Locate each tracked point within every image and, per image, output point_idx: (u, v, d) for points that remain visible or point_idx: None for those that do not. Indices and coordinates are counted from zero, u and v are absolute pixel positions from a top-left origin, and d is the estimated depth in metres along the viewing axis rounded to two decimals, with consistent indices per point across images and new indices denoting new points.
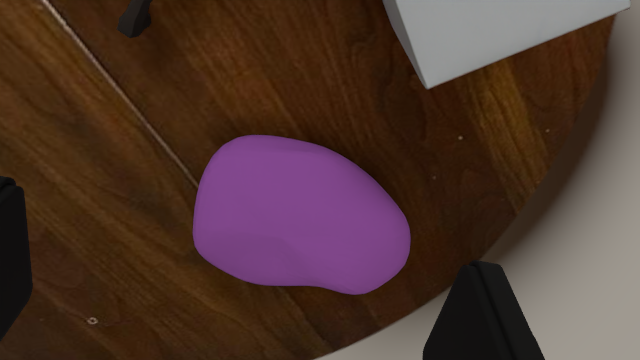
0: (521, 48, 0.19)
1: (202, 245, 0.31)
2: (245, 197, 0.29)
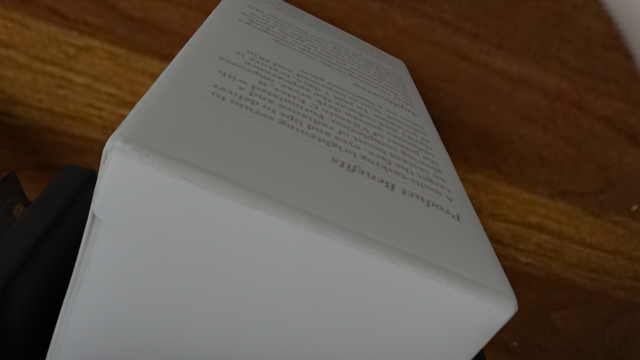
0: None
1: None
2: None
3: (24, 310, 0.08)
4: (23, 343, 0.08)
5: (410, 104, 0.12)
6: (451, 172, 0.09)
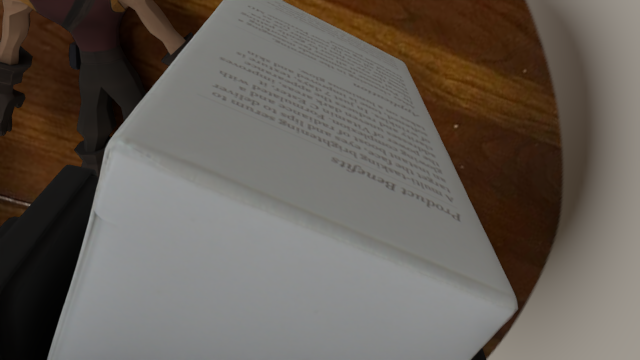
0: None
1: None
2: None
3: (24, 310, 0.08)
4: (23, 343, 0.08)
5: (410, 104, 0.12)
6: (450, 172, 0.09)
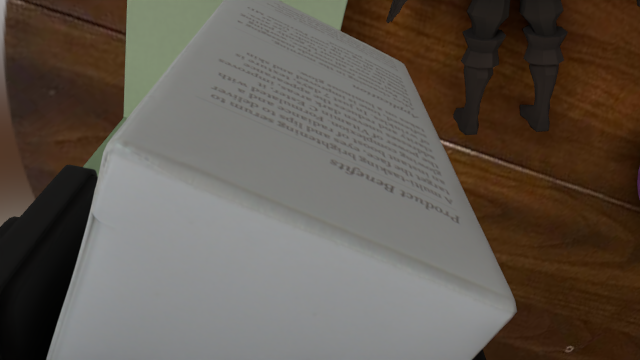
0: None
1: None
2: None
3: (24, 310, 0.08)
4: (23, 343, 0.08)
5: (410, 106, 0.12)
6: (450, 174, 0.09)
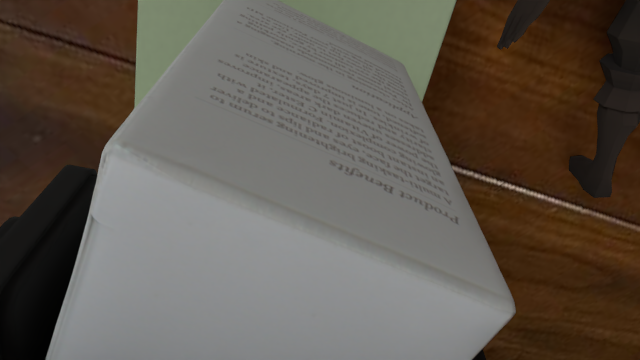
0: None
1: None
2: None
3: (24, 310, 0.08)
4: (23, 343, 0.08)
5: (409, 106, 0.12)
6: (449, 175, 0.09)
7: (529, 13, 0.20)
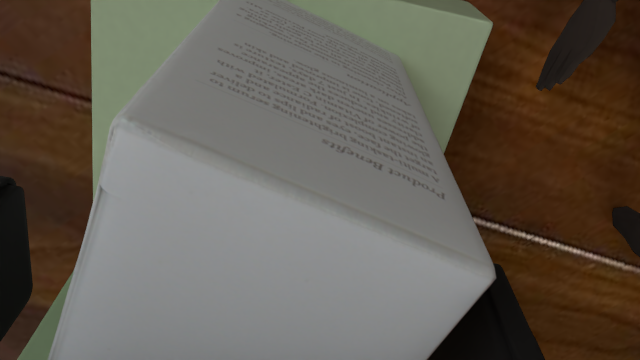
0: None
1: None
2: None
3: None
4: None
5: (402, 95, 0.12)
6: (438, 156, 0.10)
7: (579, 50, 0.16)
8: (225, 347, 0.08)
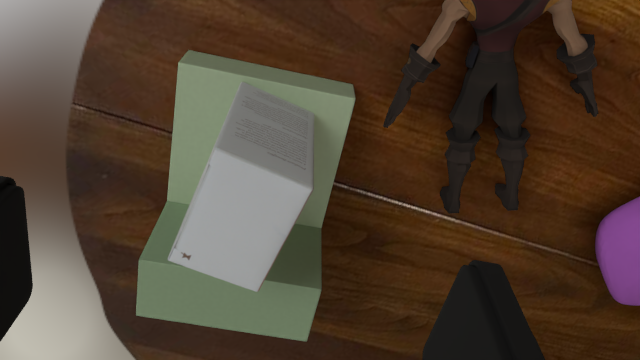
0: (280, 245, 0.28)
1: (624, 298, 0.42)
2: None
3: None
4: None
5: (305, 134, 0.31)
6: (310, 157, 0.29)
7: (395, 110, 0.35)
8: (239, 211, 0.27)
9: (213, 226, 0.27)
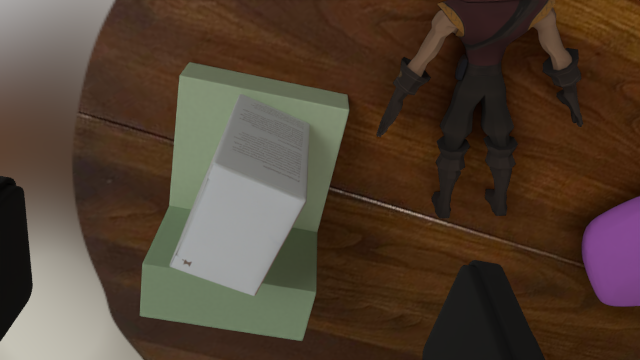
0: (275, 253, 0.30)
1: (609, 299, 0.43)
2: (626, 258, 0.41)
3: None
4: None
5: (300, 145, 0.33)
6: (304, 169, 0.31)
7: (388, 120, 0.37)
8: (236, 221, 0.28)
9: (212, 235, 0.29)
